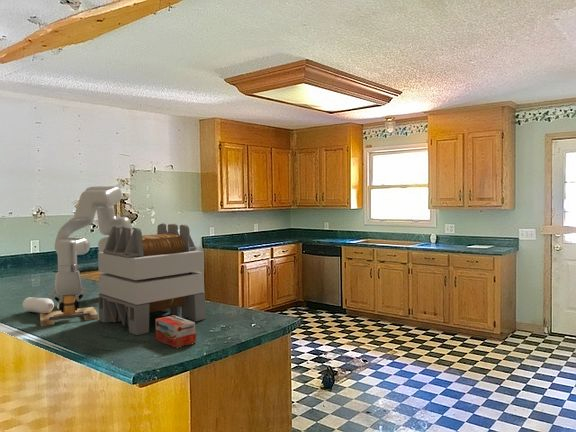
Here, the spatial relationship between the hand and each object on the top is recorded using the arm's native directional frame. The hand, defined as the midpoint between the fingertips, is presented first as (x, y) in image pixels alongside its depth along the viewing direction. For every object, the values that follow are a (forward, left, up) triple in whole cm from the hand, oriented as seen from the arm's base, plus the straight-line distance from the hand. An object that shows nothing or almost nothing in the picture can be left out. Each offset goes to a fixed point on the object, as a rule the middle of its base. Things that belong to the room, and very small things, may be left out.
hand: (69, 310), depth 205 cm
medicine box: (-31, +54, -4) cm, 62 cm away
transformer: (-31, +19, -4) cm, 36 cm away
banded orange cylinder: (0, 0, -1) cm, 1 cm away
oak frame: (0, -3, -4) cm, 5 cm away
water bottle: (+14, -28, -1) cm, 31 cm away
